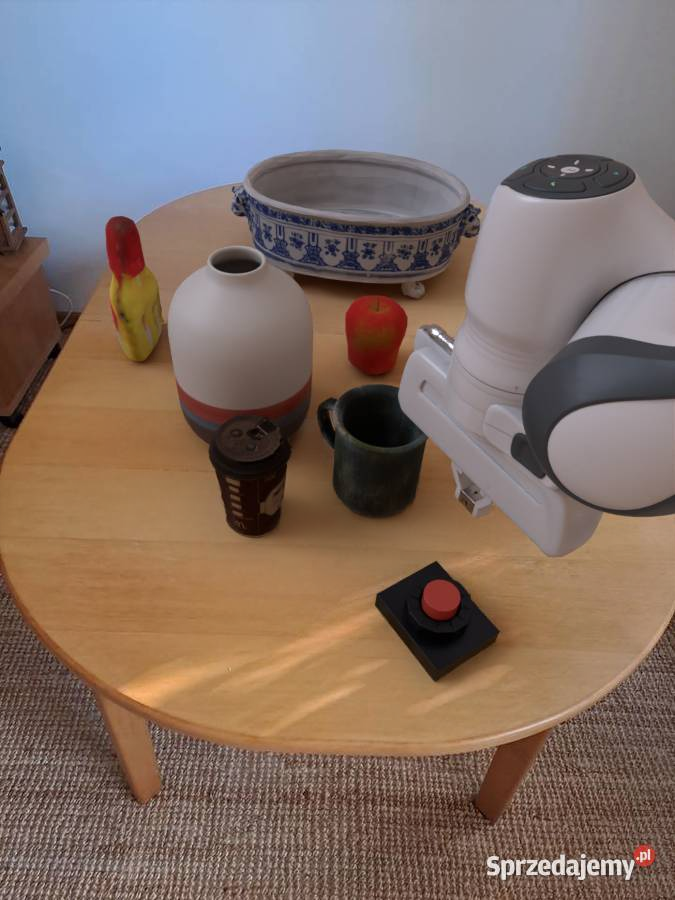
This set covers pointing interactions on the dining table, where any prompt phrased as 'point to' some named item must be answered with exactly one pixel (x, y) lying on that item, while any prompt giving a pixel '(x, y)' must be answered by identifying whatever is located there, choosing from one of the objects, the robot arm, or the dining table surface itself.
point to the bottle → (132, 290)
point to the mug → (373, 449)
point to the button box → (435, 623)
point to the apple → (374, 333)
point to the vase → (241, 343)
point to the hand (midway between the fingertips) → (471, 505)
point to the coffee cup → (251, 472)
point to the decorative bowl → (356, 216)
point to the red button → (440, 600)
